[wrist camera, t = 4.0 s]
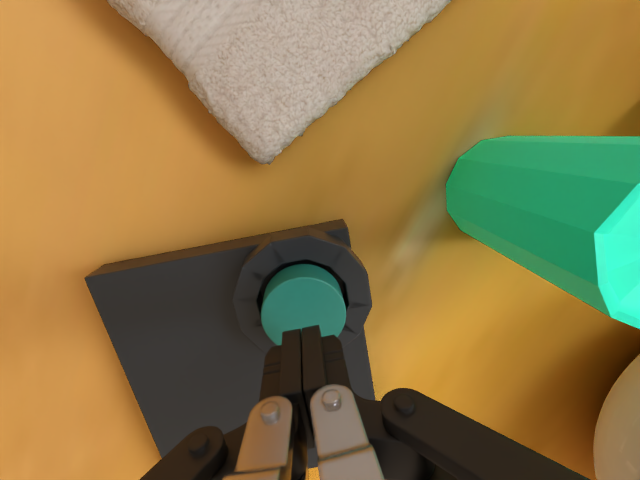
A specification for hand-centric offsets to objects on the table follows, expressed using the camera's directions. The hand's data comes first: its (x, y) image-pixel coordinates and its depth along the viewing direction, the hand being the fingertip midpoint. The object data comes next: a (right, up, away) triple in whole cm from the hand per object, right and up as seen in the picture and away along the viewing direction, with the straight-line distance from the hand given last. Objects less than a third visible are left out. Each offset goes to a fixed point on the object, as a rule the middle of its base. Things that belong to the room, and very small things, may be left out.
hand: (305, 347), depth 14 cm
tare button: (0, +1, +4) cm, 4 cm away
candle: (+11, +7, +6) cm, 14 cm away
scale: (-3, -3, +8) cm, 10 cm away
